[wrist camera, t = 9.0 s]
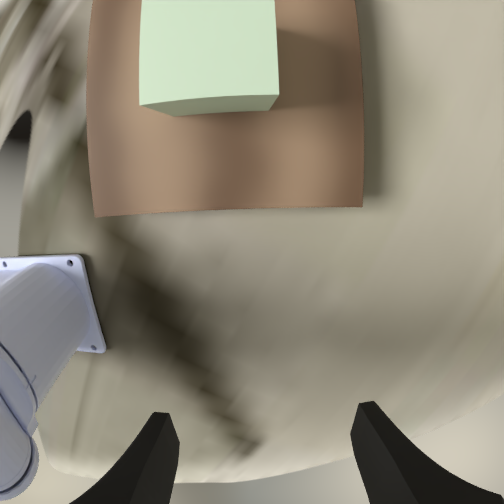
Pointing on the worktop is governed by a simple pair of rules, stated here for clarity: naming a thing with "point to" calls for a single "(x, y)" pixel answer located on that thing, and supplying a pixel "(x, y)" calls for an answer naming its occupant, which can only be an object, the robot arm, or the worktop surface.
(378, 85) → the worktop surface
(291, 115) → the walnut base
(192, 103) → the sage block
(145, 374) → the worktop surface
